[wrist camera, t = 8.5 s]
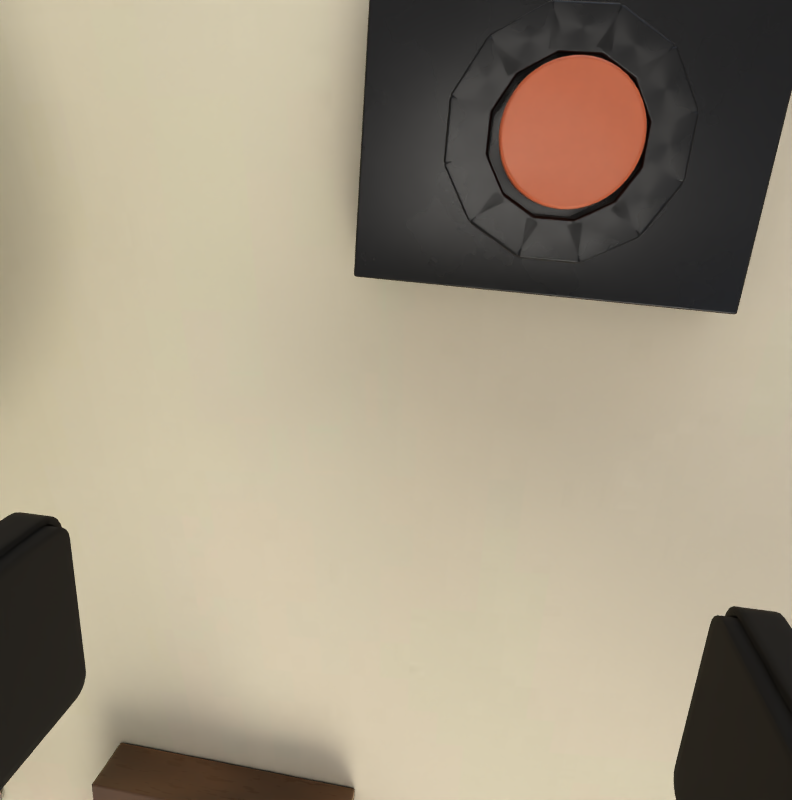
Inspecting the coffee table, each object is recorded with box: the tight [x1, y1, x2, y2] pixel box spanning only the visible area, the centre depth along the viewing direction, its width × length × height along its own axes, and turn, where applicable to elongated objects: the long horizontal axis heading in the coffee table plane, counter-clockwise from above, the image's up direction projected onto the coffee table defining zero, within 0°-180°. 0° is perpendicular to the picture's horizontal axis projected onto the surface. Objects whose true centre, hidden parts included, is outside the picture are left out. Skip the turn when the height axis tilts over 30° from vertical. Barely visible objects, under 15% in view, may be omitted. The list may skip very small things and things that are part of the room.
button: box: [499, 55, 647, 209], centre depth 17 cm, size 4×4×2 cm
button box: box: [354, 0, 792, 314], centre depth 19 cm, size 12×9×4 cm
